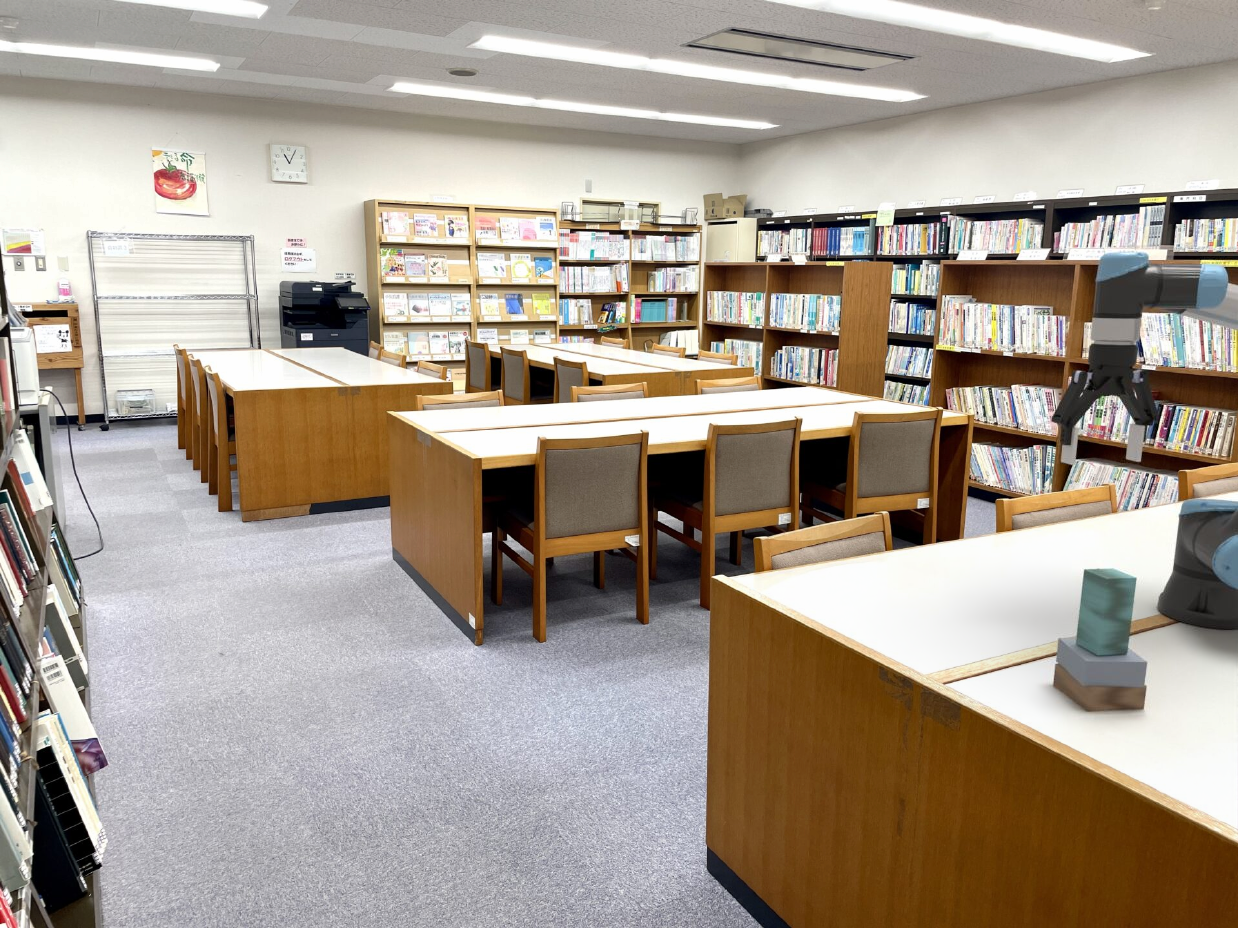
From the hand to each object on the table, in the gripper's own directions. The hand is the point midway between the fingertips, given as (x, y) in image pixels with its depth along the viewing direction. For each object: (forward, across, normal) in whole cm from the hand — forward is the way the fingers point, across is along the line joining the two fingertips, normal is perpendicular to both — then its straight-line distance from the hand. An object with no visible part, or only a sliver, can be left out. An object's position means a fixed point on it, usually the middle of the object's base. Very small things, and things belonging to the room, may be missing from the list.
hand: (1100, 461), depth 159 cm
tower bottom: (+32, +18, +25) cm, 44 cm away
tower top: (+28, +18, +25) cm, 41 cm away
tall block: (+24, +18, +25) cm, 39 cm away
